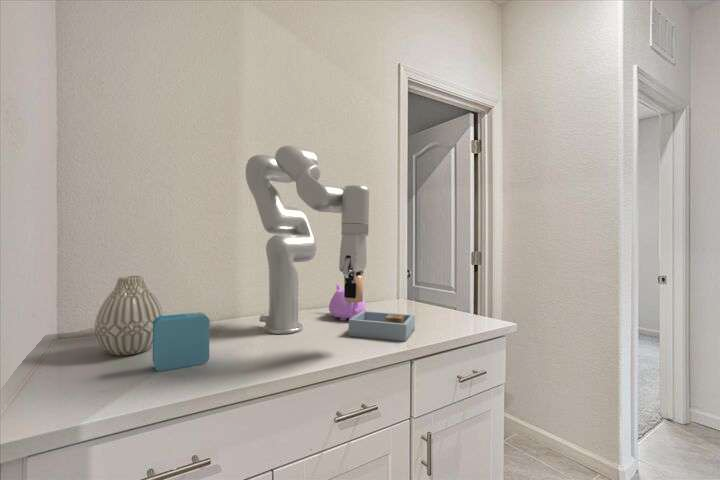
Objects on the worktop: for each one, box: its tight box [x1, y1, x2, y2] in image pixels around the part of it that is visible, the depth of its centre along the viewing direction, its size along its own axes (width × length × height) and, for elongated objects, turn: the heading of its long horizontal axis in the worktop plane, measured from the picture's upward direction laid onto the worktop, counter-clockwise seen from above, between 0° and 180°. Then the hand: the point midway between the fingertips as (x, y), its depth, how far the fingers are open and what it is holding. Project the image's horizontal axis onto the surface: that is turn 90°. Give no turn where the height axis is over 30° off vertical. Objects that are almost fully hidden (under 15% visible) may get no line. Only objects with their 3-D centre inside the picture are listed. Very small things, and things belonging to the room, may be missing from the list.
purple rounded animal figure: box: [328, 282, 367, 322], centre depth 145 cm, size 20×14×12 cm
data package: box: [152, 311, 211, 372], centre depth 91 cm, size 12×4×12 cm, turn 122°
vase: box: [94, 275, 164, 356], centre depth 101 cm, size 16×16×20 cm
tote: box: [348, 310, 416, 342], centre depth 123 cm, size 18×14×5 cm
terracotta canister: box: [345, 274, 364, 302], centre depth 105 cm, size 5×5×7 cm
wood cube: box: [385, 314, 404, 324], centre depth 121 cm, size 5×5×5 cm
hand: (353, 295), depth 105 cm, fingers closed on terracotta canister, 5 cm apart
